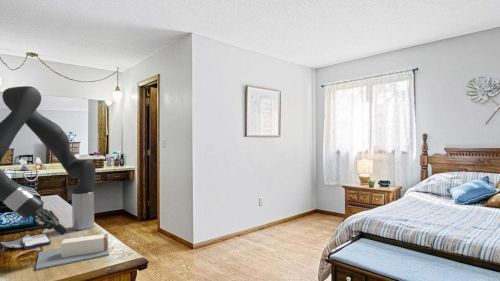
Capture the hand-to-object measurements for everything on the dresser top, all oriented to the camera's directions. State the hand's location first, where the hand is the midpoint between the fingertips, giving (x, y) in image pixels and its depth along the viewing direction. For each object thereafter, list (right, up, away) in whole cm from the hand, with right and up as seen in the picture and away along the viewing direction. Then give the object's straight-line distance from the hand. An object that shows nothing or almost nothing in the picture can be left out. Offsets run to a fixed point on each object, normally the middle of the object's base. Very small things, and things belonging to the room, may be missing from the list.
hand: (65, 232), depth 108 cm
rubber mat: (+2, -9, +1) cm, 9 cm away
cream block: (-1, -6, 0) cm, 6 cm away
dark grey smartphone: (-22, -10, +15) cm, 28 cm away
